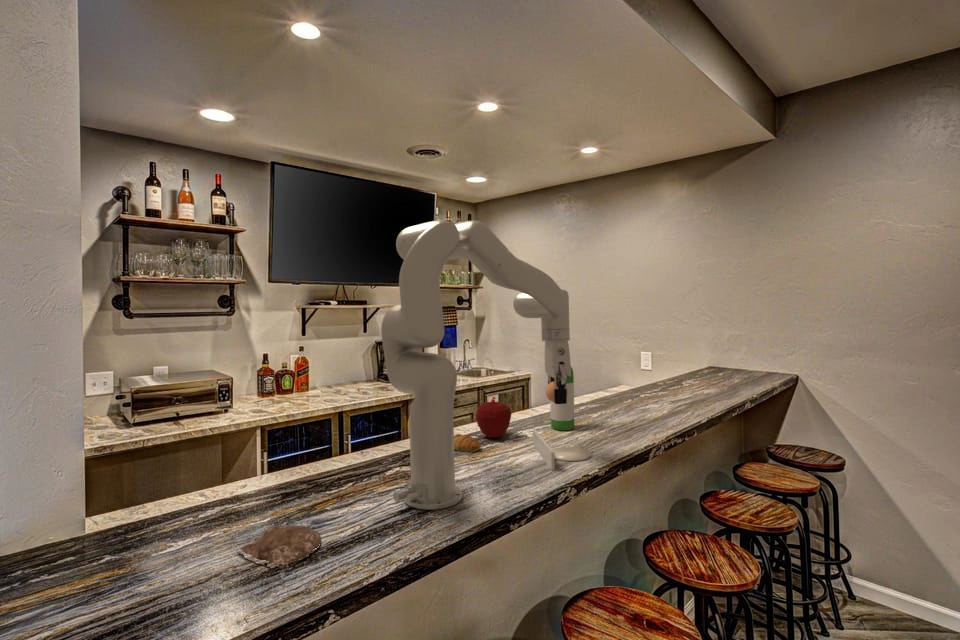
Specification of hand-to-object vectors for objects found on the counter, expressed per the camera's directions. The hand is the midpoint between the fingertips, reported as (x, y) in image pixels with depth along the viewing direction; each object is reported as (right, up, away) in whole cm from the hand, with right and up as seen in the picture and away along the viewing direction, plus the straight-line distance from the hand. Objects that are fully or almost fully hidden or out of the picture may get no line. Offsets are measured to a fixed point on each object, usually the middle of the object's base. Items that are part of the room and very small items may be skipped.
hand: (557, 400), depth 135 cm
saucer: (+4, -15, +1) cm, 15 cm away
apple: (-17, -15, +20) cm, 30 cm away
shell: (-55, -19, -48) cm, 76 cm away
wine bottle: (+6, -14, +29) cm, 33 cm away
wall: (-4, -15, 0) cm, 16 cm away
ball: (0, +2, 0) cm, 2 cm away
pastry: (-25, -16, +10) cm, 31 cm away
